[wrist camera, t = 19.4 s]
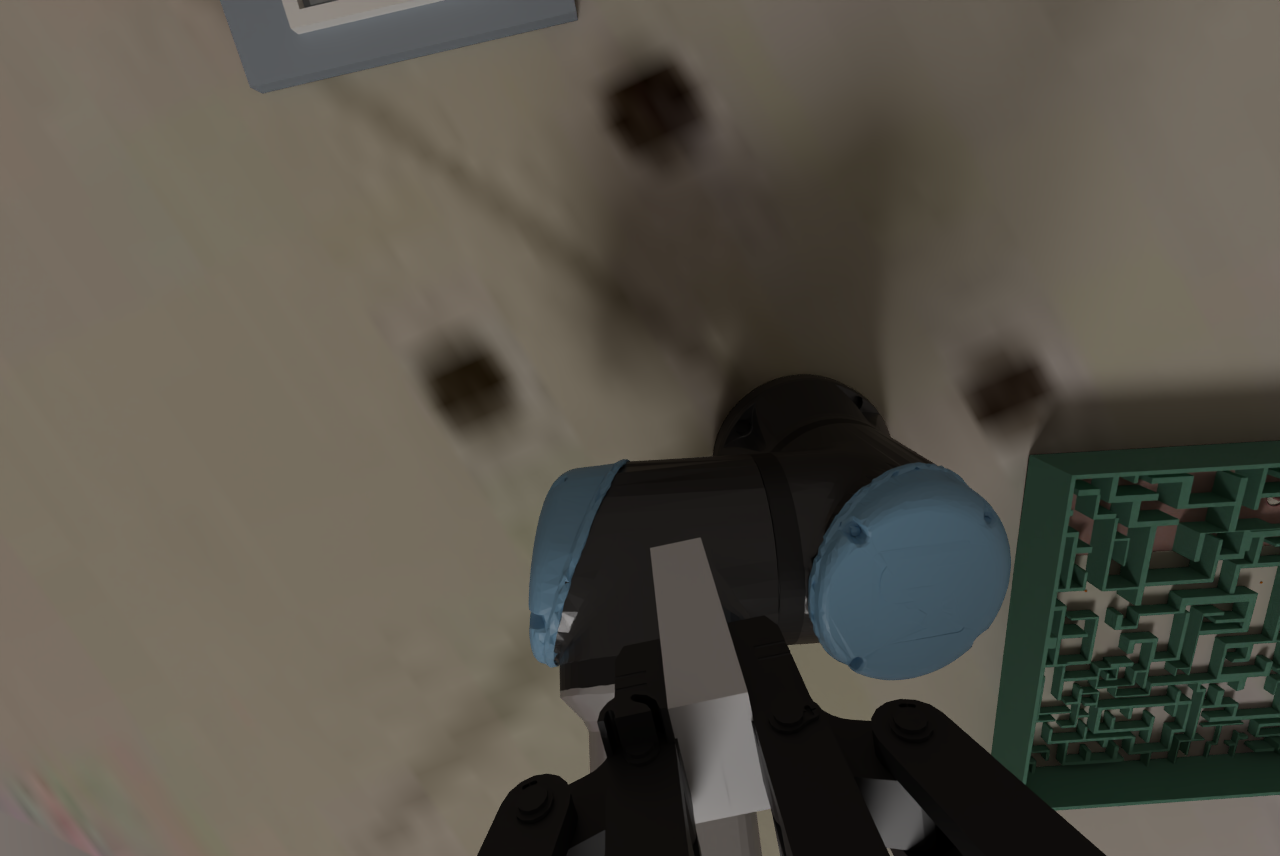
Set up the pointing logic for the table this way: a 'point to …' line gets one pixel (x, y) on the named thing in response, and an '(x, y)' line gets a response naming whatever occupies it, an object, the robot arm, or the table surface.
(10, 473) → the table surface
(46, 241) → the table surface
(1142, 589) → the maze
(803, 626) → the robot arm
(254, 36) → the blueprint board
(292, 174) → the table surface
